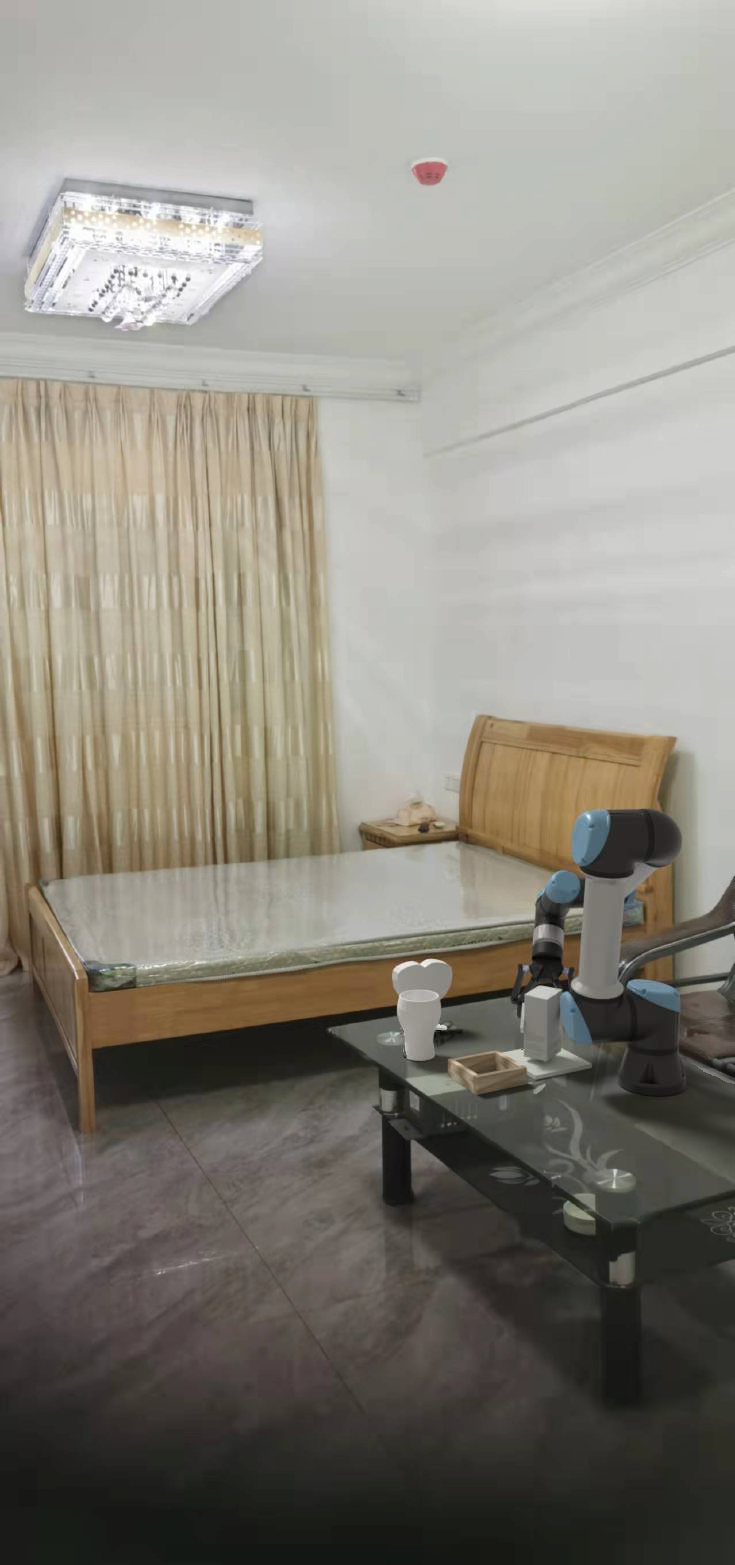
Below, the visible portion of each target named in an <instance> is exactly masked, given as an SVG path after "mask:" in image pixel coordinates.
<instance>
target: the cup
mask: <svg viewBox="0 0 735 1565" xmlns="http://www.w3.org/2000/svg"><path fill="white" fill-rule="evenodd" d="M441 1004H442V1003H441V1000H440V999H439V995H438V994H437V993H435V992H432V991H428V990H409V991H405V992H403V993H401V994H400V996H399V995H398V1001H397V1004H396V1005H397V1006H396V1015H397V1018H398V1021H399V1022H398V1023H399V1024H400V1026H401V1029H402V1028H403V1030H404V1035H403V1036H404V1045H405V1051H406V1055H407V1058H406V1059H407V1060H410V1061H416V1062H417V1061H418V1062H423V1061H428V1060H432V1059H434V1058H435V1056H436V1052H435V1046H434V1045H435V1044H434V1035H435V1032H436V1031H435V1029H436V1027H437V1025H438V1024H440V1023H439V1022H440V1018H441V1015H442V1005H441Z"/></svg>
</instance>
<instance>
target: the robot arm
mask: <svg viewBox="0 0 735 1565" xmlns="http://www.w3.org/2000/svg"><path fill="white" fill-rule="evenodd" d="M572 828H573V830H572V833H571V839H570V840H571V841H570V846H571V848H572V849H571V856H572V859H573V862H574V864H576V865H578V866H579V868H578V869H579V871H580V873H581V874H582V875H583V876H584V877H583V876H582V877H579V876H577V875H576V874H575V873H573V872H570V871H569V870H565V869H564V870H558V871H556V872H554V874H552V876H551V877H550V878H549V880H548V881H547V883H546V885H545V888H543V889H542V890H540V891H538V893H537V895H536V901H535V902H534V903H535V905H534V907H535V910H534V911H535V914H534V926H533V933H532V934H533V935H532V936H533V937H532V948H531V958H530V959H531V960H530V961H529V962H530V963H528V965H523V964H522V963H519V964H518V965H517V971H518V972H517V975H516V979H515V982H514V985H513V989H512V991H511V994H510V1003H511V1004H512V1005H516V1006H517V1008H516V1017H517V1019H520V1025H519V1029H520V1034H524V1000H525V995H524V994H526V993H528V992H529V991H531V990H533V989H534V988H536V987H537V986H538V984H542V983H547V984H553V988H557V989H562V995H561V997H560V1024H559V1036H561V1037H563V1036H564V1035H563V1033H564V1031H565V1033H566V1036H567V1037H568V1039H569V1040H570V1041H571V1042H572V1043H573V1044H576V1045H590V1046H593V1045H599V1044H615V1043H625V1051H624V1053H623V1056H622V1060H621V1063H620V1066H619V1067H618V1069H617V1079H616V1080H617V1083H618V1085H619V1086H620V1087H621V1088H623V1089H625V1090H627V1091H629V1092H632V1093H635V1094H639V1095H644V1096H645V1095H646V1096H654V1097H656V1096H657V1097H664V1096H665V1097H666V1096H672V1095H677V1094H680V1093H682V1092H683V1091H684V1090H685V1089H686V1086H687V1076H686V1072H685V1070H684V1066H683V1062H682V1059H681V1056H680V1049H679V1048H680V1032H681V1031H680V1027H681V1025H680V1024H681V1012H682V1008H681V996H680V993H679V991H678V990H677V989H676V988H675V987H673V986H671V985H668V984H666V983H663V982H659V981H654V980H650V979H642V978H641V979H639V978H638V979H635V978H634V979H632V980H629V981H628V983H627V984H626V988H624V985H623V984H622V982H620V981H619V980H618V978H619V969H620V968H619V967H620V956H621V954H620V953H621V943H622V934H623V933H622V932H623V918H624V908H625V907H630V906H632V905H633V904H634V903H635V899H636V897H637V888H638V887H639V886H640V885H641V884H642V883H643V882H645V881H646V880H647V879H648V878H649V877H650V876H651V875H652V874H653V873H654V872H655V871H656V870H658V869H662V868H665V867H667V866H669V865H670V864H671V863H672V862H673V861H675V859H676V858H677V857H678V856H679V855H680V853H681V850H682V846H683V835H682V832H681V830H680V827H679V825H678V824H677V822H676V821H675V820H674V819H673V818H672V817H671V816H670V815H668V814H666V813H665V812H663V811H661V810H658V809H654V808H630V809H629V808H627V809H626V808H625V809H623V808H622V809H605V808H601V809H595V810H587V811H584V812H583V813H581V814H579V816H578V818H577V819H576V820H575V823H574V826H573V827H572ZM571 909H582V922H581V936H580V949H579V950H580V951H579V960H578V961H579V962H578V974H577V976H576V977H575V975H576V974H575V968H574V967H573V966H571V967H565V966H564V964H563V957H564V956H563V955H564V944H565V943H564V941H565V925H566V919H567V918H566V917H567V915H568V914H569V913H570V912H569V911H570V910H571ZM527 972H529V973H530V974H531V977H530V979H529V981H528V983H527V984H526V986H525V987H524V989H523V990H522V992H521V994H520V995H519V993H520V991H521V987H522V985H523V981H524V979H525V978H524V977H525V976H526V975H527ZM563 973H564V976H565V978H567V980H568V981H567V982H568V988H569V991H565V990H564V989H563V986H562V984H561V981H560V977H561V975H563Z"/></svg>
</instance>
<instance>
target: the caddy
mask: <svg viewBox="0 0 735 1565" xmlns="http://www.w3.org/2000/svg"><path fill="white" fill-rule="evenodd" d="M492 1070H496V1071H492ZM487 1071H490V1072H487ZM482 1072H485V1073H482ZM478 1073H482V1074H478ZM447 1077H448V1078H449V1079H451V1080H453V1081H454V1082H456V1083H457V1084H459V1085H461V1086H462V1087H463V1088H465V1089H466V1090H468V1091H469V1092H471V1093H473V1094H475V1095H476V1096H478V1095H482V1094H486V1093H491V1092H492V1093H493V1092H497V1091H502V1090H505V1089H509V1088H510V1089H511V1088H515V1087H520V1086H524V1085H527V1079H528V1078H527V1077H528V1075H527V1067H525V1066H524V1065H522V1064H520V1063H518V1062H517V1061H515V1060H513V1059H511V1058H510V1057H508V1056H506V1055H504V1054H503V1052H502V1051H501V1052H500V1051H499V1050H498V1049H497V1050H490V1051H486V1052H479V1053H475V1054H471V1055H464V1056H459V1057H455V1058H449V1059H447Z"/></svg>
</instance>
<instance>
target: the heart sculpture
mask: <svg viewBox="0 0 735 1565" xmlns="http://www.w3.org/2000/svg"><path fill="white" fill-rule="evenodd" d="M453 975H454V974H453V968H452V966H451V965H449V964H448V963H447V962H445V961H443V960H440V959H436V958H427V959H425V960H423V961H422V962H420V963H419V962H417V961H414V960H410V961H405V962H402V963H400V964H398V965H396V966H395V967H394V968H393V970H392V974H391V980H392V987H393V989H394V990H395V992H396V993H397V995H398V997H399V996H400V994H401V993H403V992H405V991H409V990H428V991H432V992H435V993H437V994H438V995H439V999H440V1001H441V1000H442V999H443V998H444V997H445V995H447V993H448V991H449V989H450V987H451V986H452V982H453V981H452V980H453ZM435 1030H441V1031H447V1030H448V1026H446V1025H444V1024H442V1025H440V1023H438V1025H437V1027H436V1029H435Z"/></svg>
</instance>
